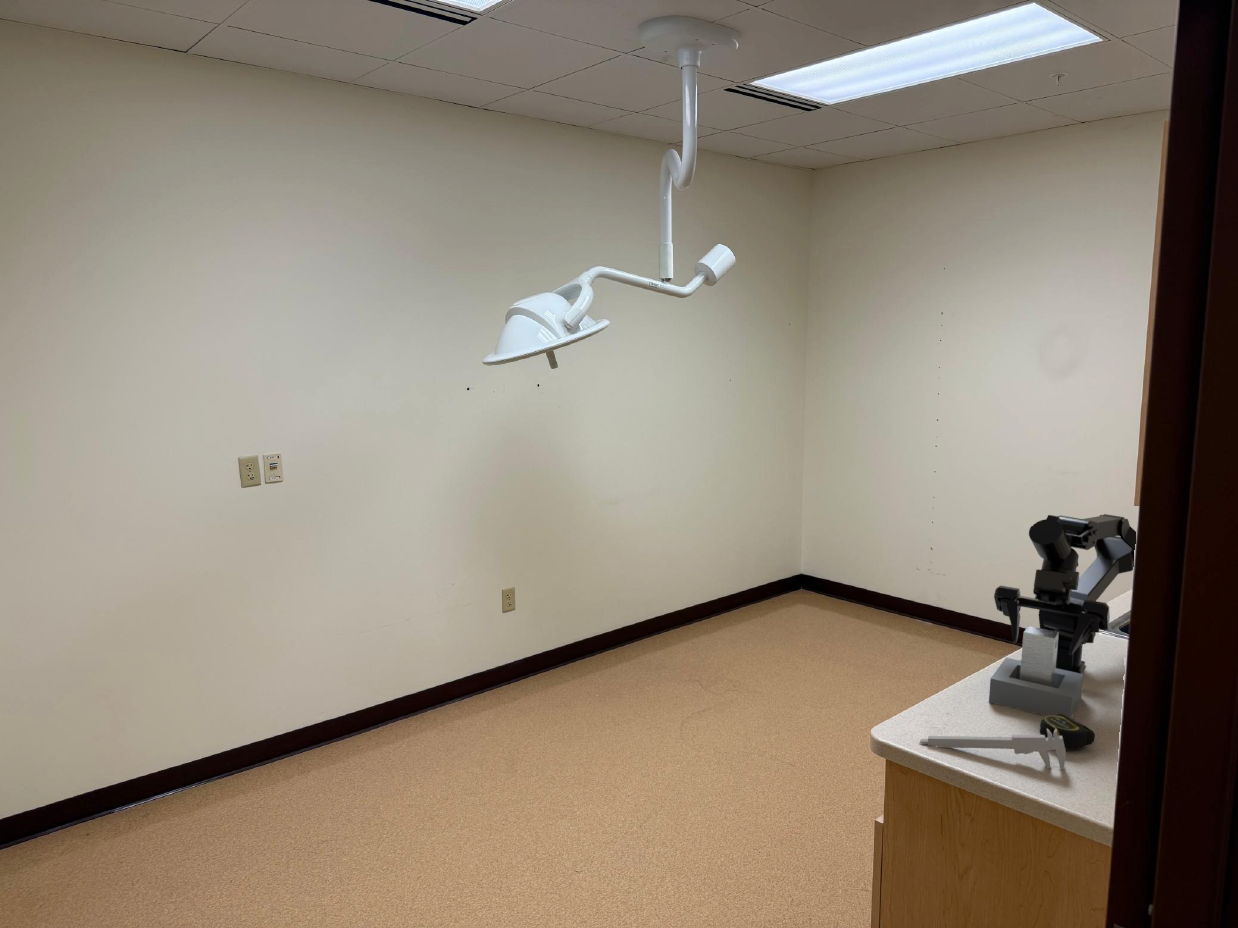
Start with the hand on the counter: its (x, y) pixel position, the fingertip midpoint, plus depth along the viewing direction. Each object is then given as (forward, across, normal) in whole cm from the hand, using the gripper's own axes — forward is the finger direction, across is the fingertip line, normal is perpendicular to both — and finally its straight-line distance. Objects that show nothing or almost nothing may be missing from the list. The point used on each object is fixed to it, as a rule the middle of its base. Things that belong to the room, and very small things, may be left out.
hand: (1042, 648), depth 152 cm
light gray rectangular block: (+8, 0, +5) cm, 9 cm away
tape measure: (+18, +7, -5) cm, 20 cm away
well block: (+8, 0, +5) cm, 9 cm away
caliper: (+26, -2, -13) cm, 30 cm away
